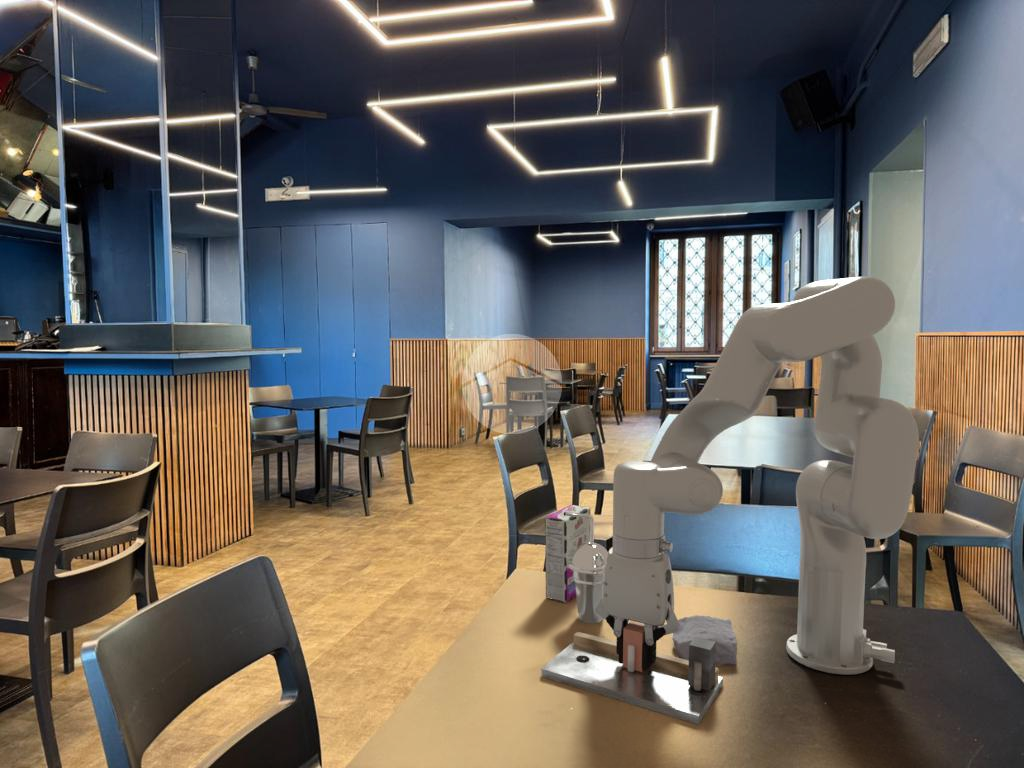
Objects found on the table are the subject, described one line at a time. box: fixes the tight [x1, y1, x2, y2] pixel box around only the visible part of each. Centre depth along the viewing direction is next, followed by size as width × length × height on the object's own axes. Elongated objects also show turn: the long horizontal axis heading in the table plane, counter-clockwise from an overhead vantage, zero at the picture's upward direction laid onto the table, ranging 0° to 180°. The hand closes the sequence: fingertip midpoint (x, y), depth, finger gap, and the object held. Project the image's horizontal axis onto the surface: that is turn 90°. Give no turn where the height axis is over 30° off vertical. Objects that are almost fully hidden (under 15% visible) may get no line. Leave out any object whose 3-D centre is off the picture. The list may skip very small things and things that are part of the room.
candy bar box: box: [544, 504, 591, 604], centre depth 136 cm, size 11×5×16 cm, turn 148°
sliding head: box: [623, 621, 645, 672], centre depth 103 cm, size 3×4×6 cm
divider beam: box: [573, 631, 719, 691], centre depth 104 cm, size 23×6×6 cm, turn 58°
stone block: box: [672, 615, 738, 666], centre depth 113 cm, size 12×5×10 cm
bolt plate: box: [540, 640, 724, 725], centre depth 102 cm, size 24×12×1 cm, turn 58°
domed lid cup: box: [564, 512, 609, 624], centre depth 124 cm, size 8×9×20 cm
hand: (636, 662), depth 104 cm, fingers closed on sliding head, 3 cm apart
